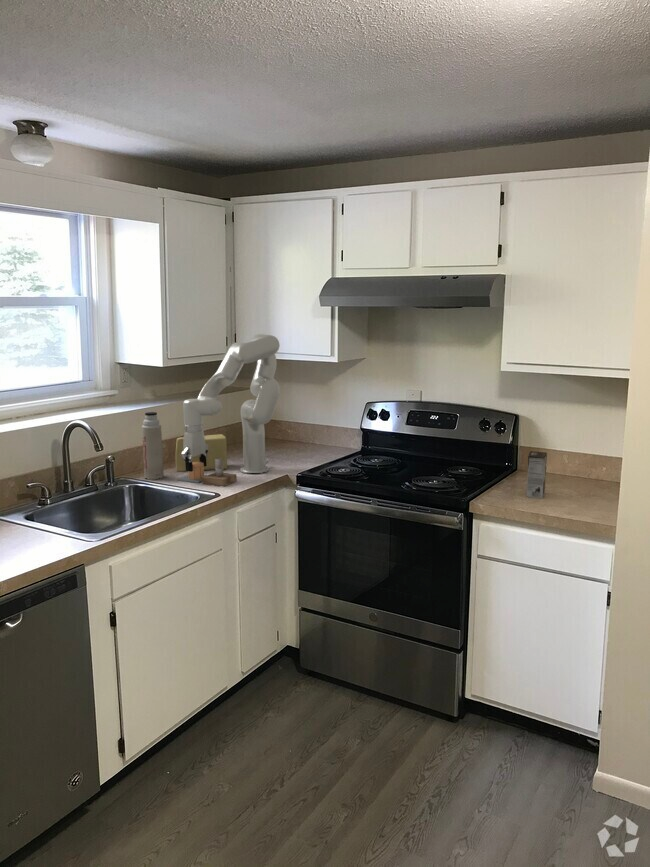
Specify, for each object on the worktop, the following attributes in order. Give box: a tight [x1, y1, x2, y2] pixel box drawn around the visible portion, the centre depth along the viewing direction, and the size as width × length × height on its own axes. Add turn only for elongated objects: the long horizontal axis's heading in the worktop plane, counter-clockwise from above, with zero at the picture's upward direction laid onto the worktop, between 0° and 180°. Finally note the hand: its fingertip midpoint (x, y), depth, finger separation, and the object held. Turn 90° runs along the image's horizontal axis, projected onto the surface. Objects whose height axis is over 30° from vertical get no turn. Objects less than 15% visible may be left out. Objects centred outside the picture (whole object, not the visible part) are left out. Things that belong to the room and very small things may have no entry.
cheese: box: [175, 433, 228, 472], centre depth 321 cm, size 22×10×15 cm, turn 109°
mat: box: [176, 474, 208, 484], centre depth 304 cm, size 11×11×1 cm
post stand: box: [202, 458, 238, 487], centre depth 297 cm, size 10×10×10 cm
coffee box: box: [526, 450, 548, 499], centre depth 275 cm, size 9×6×16 cm
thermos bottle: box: [141, 411, 165, 480], centre depth 305 cm, size 8×8×28 cm
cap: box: [187, 462, 205, 479], centre depth 304 cm, size 6×6×6 cm
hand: (196, 468), depth 304 cm, fingers open, 9 cm apart
